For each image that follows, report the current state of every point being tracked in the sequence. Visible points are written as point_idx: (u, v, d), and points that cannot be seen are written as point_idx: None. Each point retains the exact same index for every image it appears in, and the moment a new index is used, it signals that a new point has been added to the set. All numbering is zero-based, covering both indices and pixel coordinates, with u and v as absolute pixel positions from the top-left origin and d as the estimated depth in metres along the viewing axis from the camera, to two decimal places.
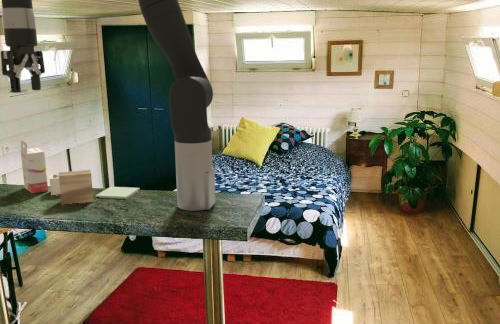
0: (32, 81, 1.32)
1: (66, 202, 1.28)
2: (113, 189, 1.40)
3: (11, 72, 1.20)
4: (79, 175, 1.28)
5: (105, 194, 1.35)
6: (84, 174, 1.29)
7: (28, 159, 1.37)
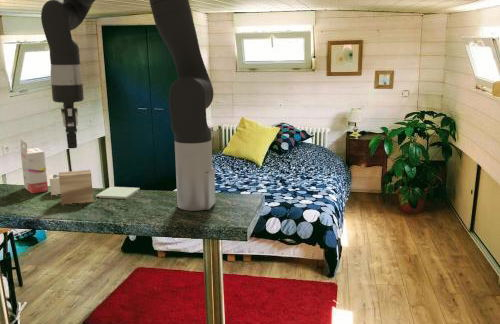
0: None
1: (66, 202, 1.28)
2: (113, 189, 1.40)
3: (76, 129, 1.21)
4: (79, 175, 1.28)
5: (105, 194, 1.35)
6: (84, 174, 1.29)
7: (28, 159, 1.37)
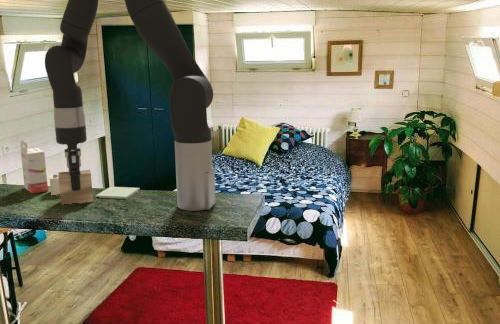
0: None
1: (66, 202, 1.28)
2: (113, 189, 1.40)
3: (79, 173, 1.25)
4: None
5: (105, 194, 1.35)
6: (84, 174, 1.29)
7: (28, 159, 1.37)
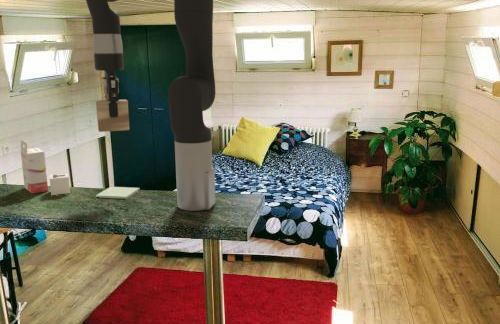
0: None
1: (103, 129, 1.31)
2: (113, 189, 1.40)
3: (118, 98, 1.28)
4: None
5: (105, 194, 1.35)
6: (121, 101, 1.32)
7: (28, 159, 1.37)
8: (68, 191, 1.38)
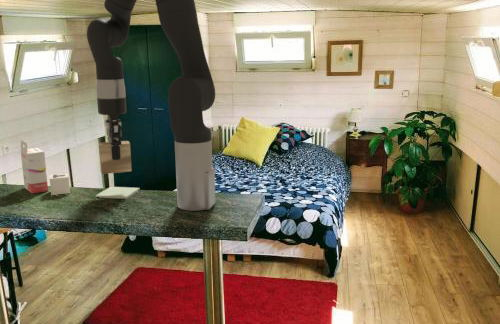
0: None
1: (106, 171, 1.34)
2: (113, 189, 1.40)
3: (120, 142, 1.31)
4: None
5: (105, 194, 1.35)
6: (123, 144, 1.34)
7: (28, 159, 1.37)
8: (68, 191, 1.38)
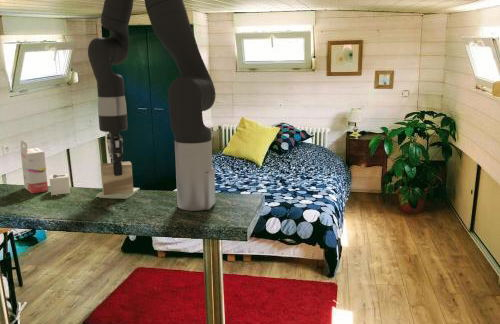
0: None
1: (108, 192, 1.35)
2: None
3: (122, 158, 1.31)
4: None
5: None
6: (125, 165, 1.35)
7: (28, 159, 1.37)
8: (68, 191, 1.38)
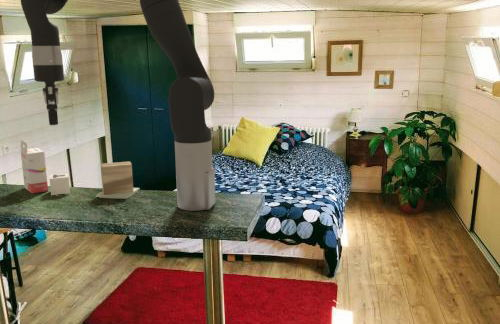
0: None
1: (108, 192, 1.35)
2: None
3: (56, 106, 1.29)
4: (120, 166, 1.35)
5: None
6: (125, 165, 1.35)
7: (28, 159, 1.37)
8: (68, 191, 1.38)
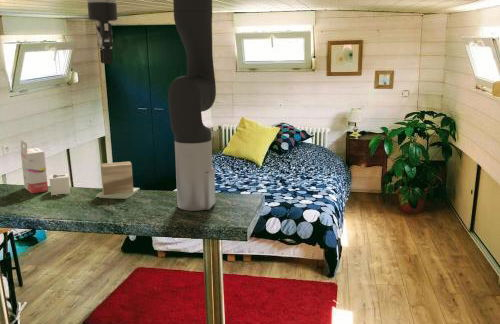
0: (101, 54, 1.38)
1: (108, 192, 1.35)
2: None
3: (112, 43, 1.28)
4: (120, 166, 1.35)
5: None
6: (125, 165, 1.35)
7: (28, 159, 1.37)
8: (68, 191, 1.38)
